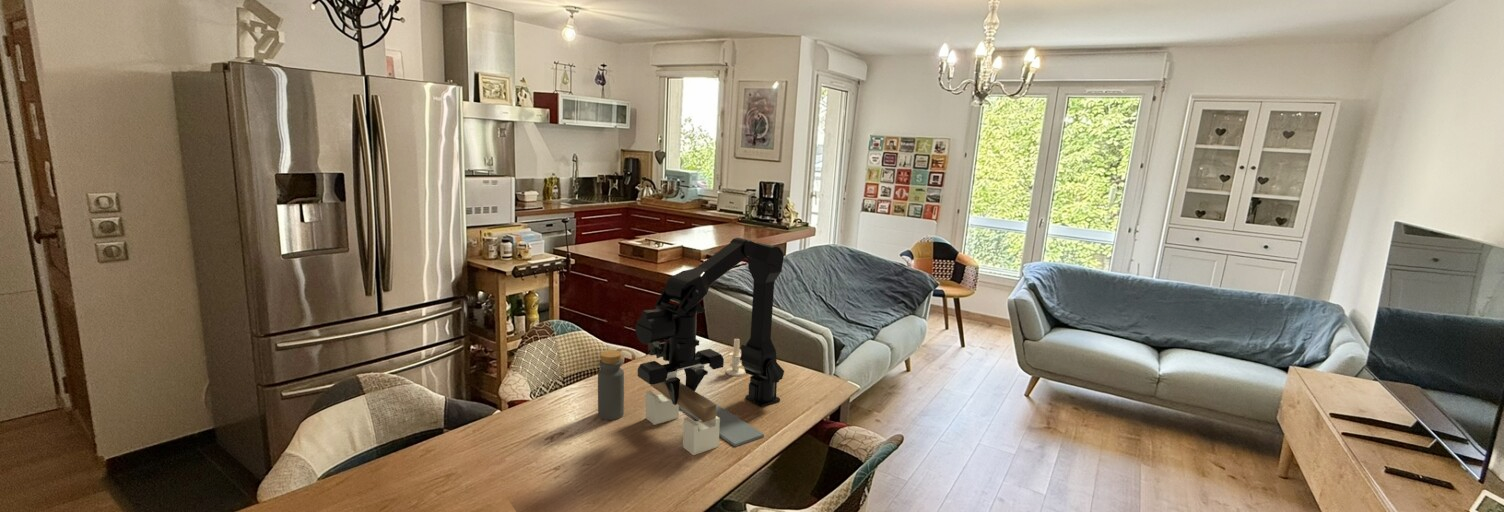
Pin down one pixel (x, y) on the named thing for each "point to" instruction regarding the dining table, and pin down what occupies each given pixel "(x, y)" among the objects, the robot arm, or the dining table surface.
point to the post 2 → (700, 435)
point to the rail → (691, 401)
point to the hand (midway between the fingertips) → (681, 402)
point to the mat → (732, 427)
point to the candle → (735, 361)
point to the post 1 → (660, 408)
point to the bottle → (610, 386)
